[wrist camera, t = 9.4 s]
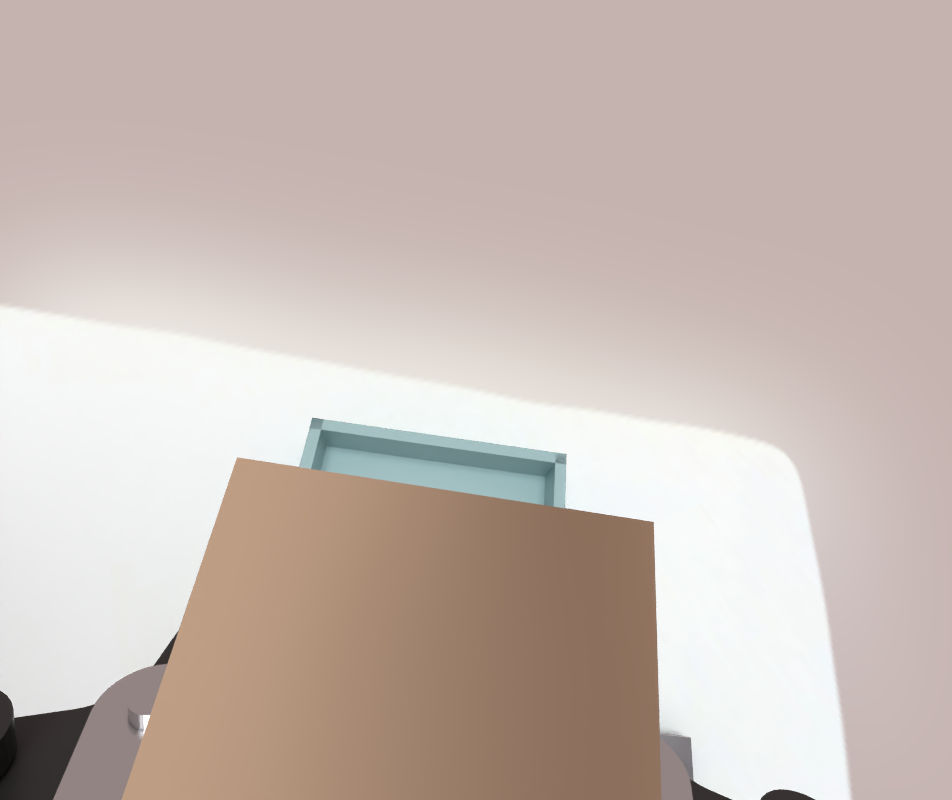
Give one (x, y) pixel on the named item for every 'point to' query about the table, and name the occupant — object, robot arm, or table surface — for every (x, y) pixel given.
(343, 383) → the table surface
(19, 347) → the table surface
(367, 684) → the tall brown wooden block
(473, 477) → the tray
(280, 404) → the table surface
